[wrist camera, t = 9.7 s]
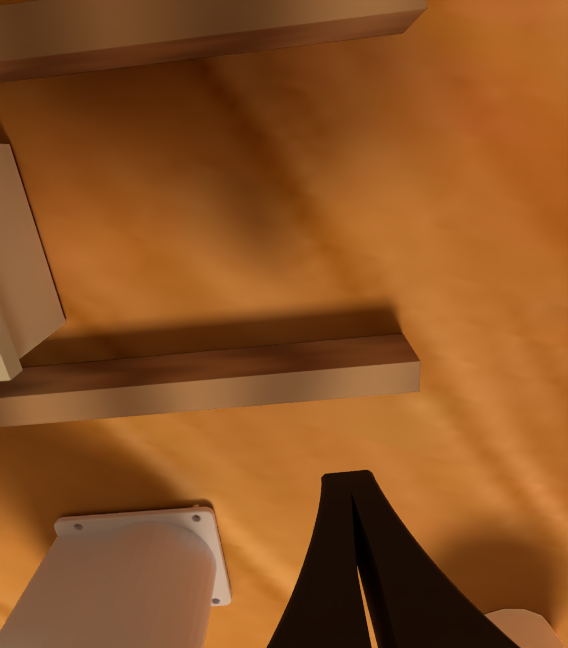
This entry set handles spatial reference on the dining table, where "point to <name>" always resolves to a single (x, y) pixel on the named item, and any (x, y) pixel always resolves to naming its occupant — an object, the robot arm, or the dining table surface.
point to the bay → (208, 366)
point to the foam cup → (525, 628)
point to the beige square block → (22, 275)
